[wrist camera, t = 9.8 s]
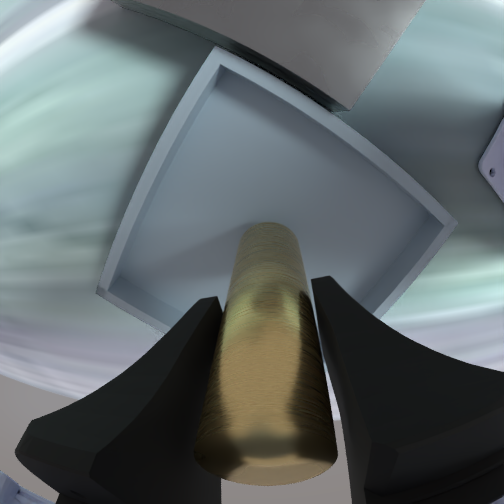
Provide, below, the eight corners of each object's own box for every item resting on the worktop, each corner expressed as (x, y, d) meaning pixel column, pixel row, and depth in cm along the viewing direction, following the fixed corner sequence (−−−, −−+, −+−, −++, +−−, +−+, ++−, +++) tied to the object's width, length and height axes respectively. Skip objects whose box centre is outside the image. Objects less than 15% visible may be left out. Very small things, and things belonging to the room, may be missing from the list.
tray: (437, 208, 14) (458, 223, 12) (297, 369, 19) (300, 394, 17) (223, 56, 12) (215, 45, 10) (112, 273, 17) (95, 293, 15)
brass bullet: (295, 216, 13) (339, 417, 4) (303, 273, 14) (336, 478, 5) (232, 227, 14) (171, 428, 4) (244, 281, 15) (216, 486, 6)
